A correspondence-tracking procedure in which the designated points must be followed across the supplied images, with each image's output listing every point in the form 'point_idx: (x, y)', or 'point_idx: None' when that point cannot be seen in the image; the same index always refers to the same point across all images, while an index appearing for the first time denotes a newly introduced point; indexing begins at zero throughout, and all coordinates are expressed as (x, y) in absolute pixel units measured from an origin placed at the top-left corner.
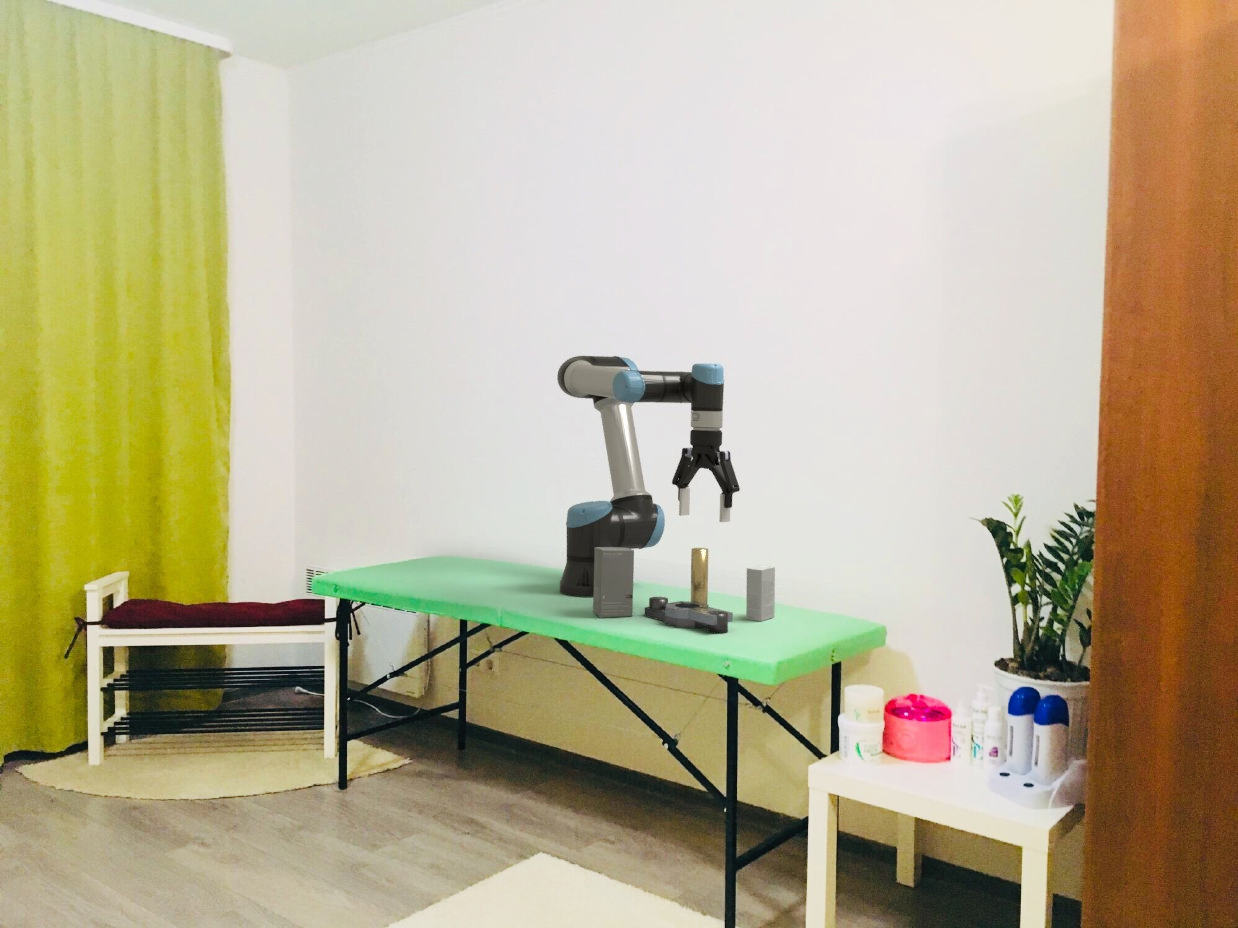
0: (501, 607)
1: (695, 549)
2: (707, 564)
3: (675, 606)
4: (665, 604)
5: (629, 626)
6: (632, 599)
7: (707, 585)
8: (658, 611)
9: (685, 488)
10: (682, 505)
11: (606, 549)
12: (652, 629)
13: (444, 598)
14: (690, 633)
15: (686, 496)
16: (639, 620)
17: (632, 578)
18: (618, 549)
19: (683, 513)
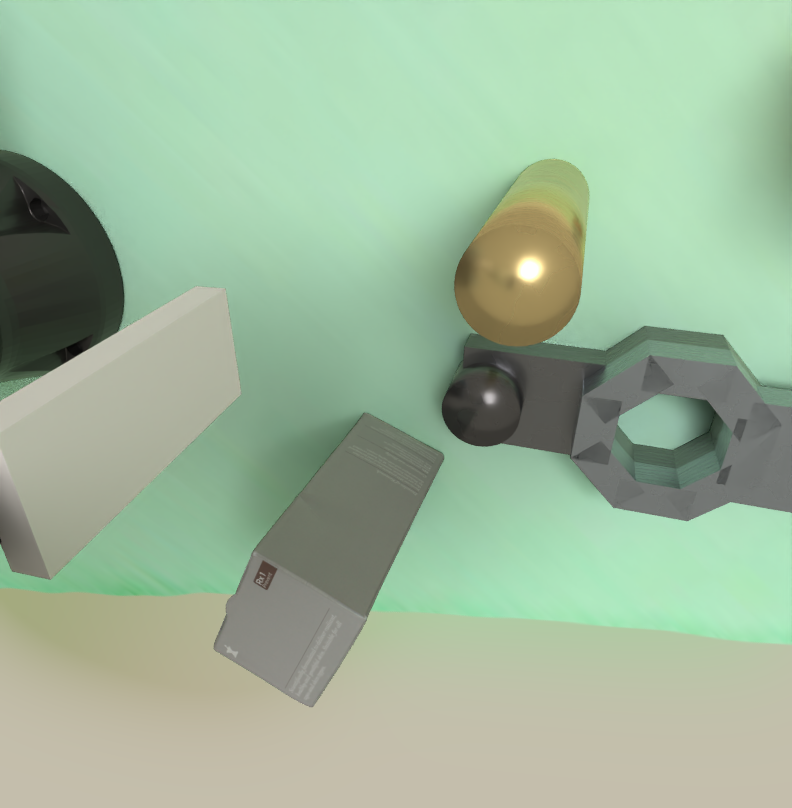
0: (150, 578)
1: (508, 327)
2: (581, 239)
3: (641, 483)
4: (521, 405)
5: (545, 554)
6: (429, 486)
7: (583, 205)
8: (539, 448)
9: (5, 500)
10: (186, 433)
11: (308, 690)
12: (631, 545)
13: (11, 582)
14: (782, 518)
15: (104, 431)
16: (504, 478)
17: (405, 535)
18: (323, 654)
19: (226, 373)
